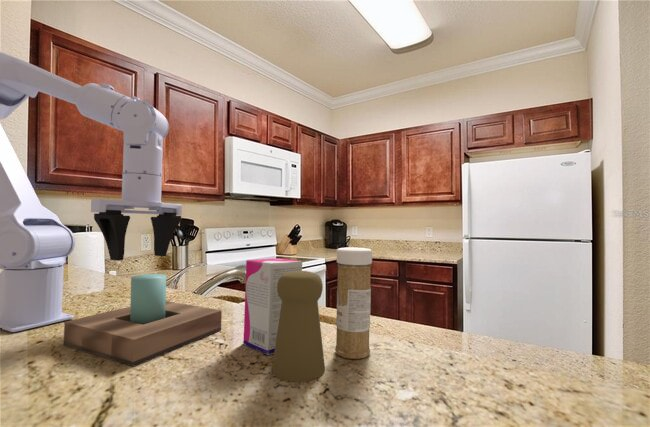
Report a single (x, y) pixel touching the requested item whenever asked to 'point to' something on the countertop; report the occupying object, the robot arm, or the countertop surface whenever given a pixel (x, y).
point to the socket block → (140, 332)
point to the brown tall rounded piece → (299, 328)
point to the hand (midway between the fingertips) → (139, 257)
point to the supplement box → (264, 301)
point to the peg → (148, 298)
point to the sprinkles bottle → (353, 302)
